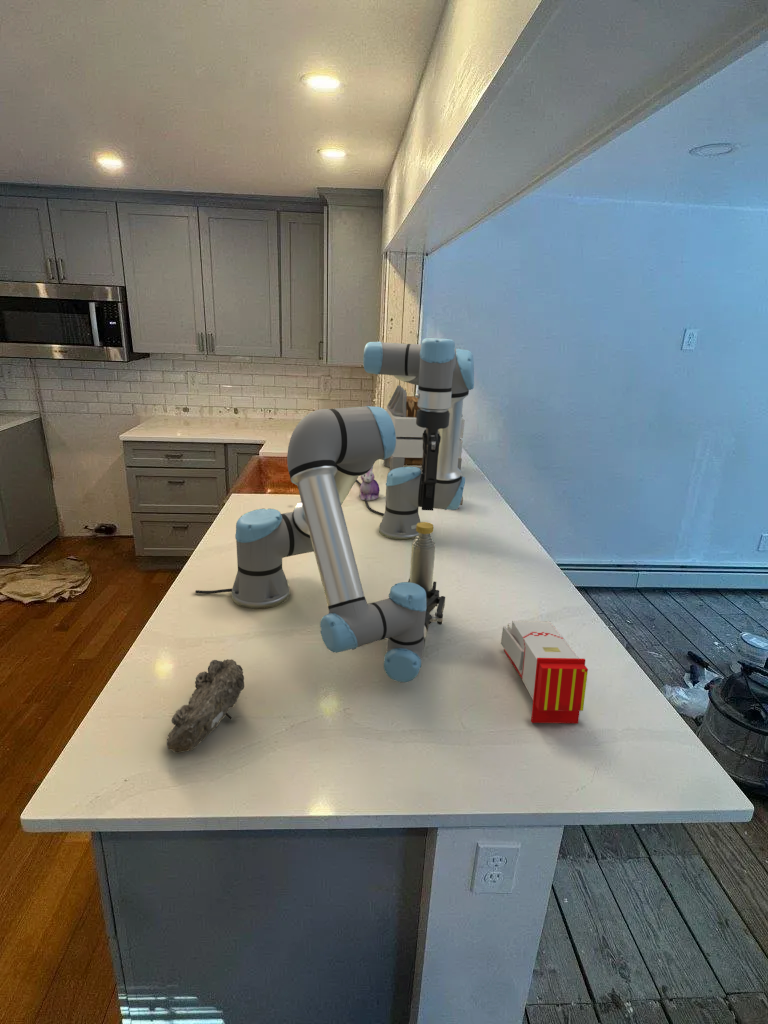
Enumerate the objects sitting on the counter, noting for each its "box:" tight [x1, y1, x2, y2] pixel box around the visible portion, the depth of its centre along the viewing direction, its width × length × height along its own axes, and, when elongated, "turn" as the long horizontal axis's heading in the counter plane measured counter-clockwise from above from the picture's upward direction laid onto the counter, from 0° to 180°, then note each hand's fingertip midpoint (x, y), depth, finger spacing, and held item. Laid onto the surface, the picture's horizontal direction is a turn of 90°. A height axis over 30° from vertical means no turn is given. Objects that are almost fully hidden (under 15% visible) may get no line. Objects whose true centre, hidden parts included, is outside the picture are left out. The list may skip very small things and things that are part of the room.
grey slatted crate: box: [383, 384, 465, 472], centre depth 268 cm, size 34×33×41 cm
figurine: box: [359, 465, 381, 502], centre depth 233 cm, size 9×10×15 cm
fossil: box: [166, 658, 245, 754], centre depth 106 cm, size 22×10×15 cm
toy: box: [500, 620, 589, 724], centre depth 121 cm, size 12×13×30 cm
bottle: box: [409, 533, 436, 615], centre depth 143 cm, size 6×6×25 cm
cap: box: [416, 521, 434, 535], centre depth 139 cm, size 4×4×2 cm
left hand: (422, 584), depth 150 cm, fingers closed on bottle, 6 cm apart
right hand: (426, 504), depth 137 cm, fingers open, 6 cm apart
